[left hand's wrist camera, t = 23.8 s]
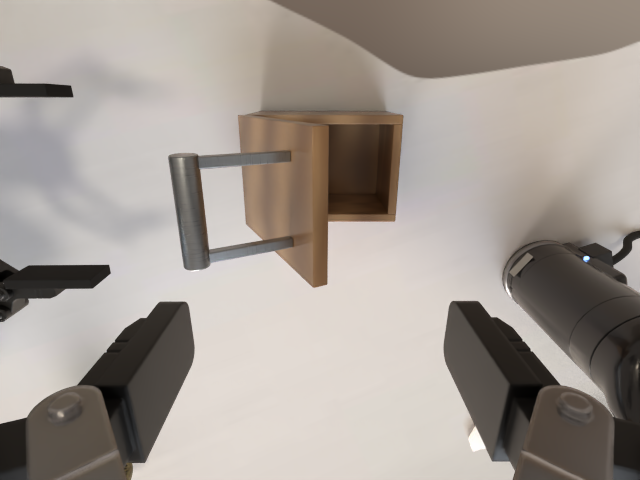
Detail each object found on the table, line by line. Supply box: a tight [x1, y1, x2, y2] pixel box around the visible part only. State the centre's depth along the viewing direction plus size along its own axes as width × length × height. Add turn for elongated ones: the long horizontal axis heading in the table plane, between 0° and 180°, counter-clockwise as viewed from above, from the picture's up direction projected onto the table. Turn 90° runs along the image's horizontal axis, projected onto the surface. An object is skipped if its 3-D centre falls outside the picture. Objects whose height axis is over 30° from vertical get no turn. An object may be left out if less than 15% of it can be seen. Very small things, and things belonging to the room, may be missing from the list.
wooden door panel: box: [168, 115, 329, 288], centre depth 27 cm, size 15×10×8 cm
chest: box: [247, 111, 403, 222], centre depth 40 cm, size 14×10×9 cm
